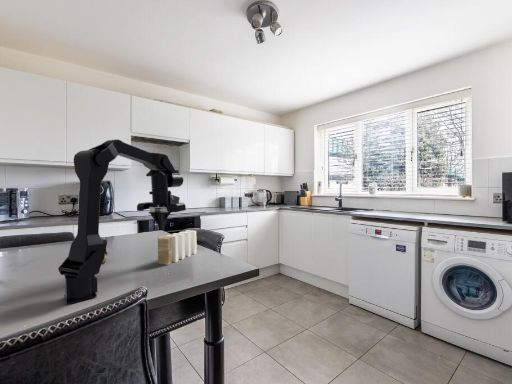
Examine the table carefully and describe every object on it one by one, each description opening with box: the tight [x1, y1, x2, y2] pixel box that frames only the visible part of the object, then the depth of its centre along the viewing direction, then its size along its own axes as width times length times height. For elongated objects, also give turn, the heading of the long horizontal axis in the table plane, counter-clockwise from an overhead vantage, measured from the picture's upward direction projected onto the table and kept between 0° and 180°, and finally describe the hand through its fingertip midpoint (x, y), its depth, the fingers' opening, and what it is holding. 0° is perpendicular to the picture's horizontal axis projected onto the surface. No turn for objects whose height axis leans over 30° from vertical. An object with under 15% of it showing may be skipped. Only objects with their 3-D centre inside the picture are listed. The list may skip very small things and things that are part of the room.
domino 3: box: [171, 232, 186, 260], centre depth 104 cm, size 2×5×10 cm, turn 68°
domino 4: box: [178, 231, 192, 258], centre depth 108 cm, size 2×5×10 cm, turn 68°
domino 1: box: [157, 236, 173, 266], centre depth 97 cm, size 2×5×10 cm, turn 68°
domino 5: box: [184, 229, 198, 255], centre depth 111 cm, size 2×5×10 cm, turn 68°
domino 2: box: [164, 234, 180, 263], centre depth 100 cm, size 2×5×10 cm, turn 68°
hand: (162, 229), depth 95 cm, fingers closed
